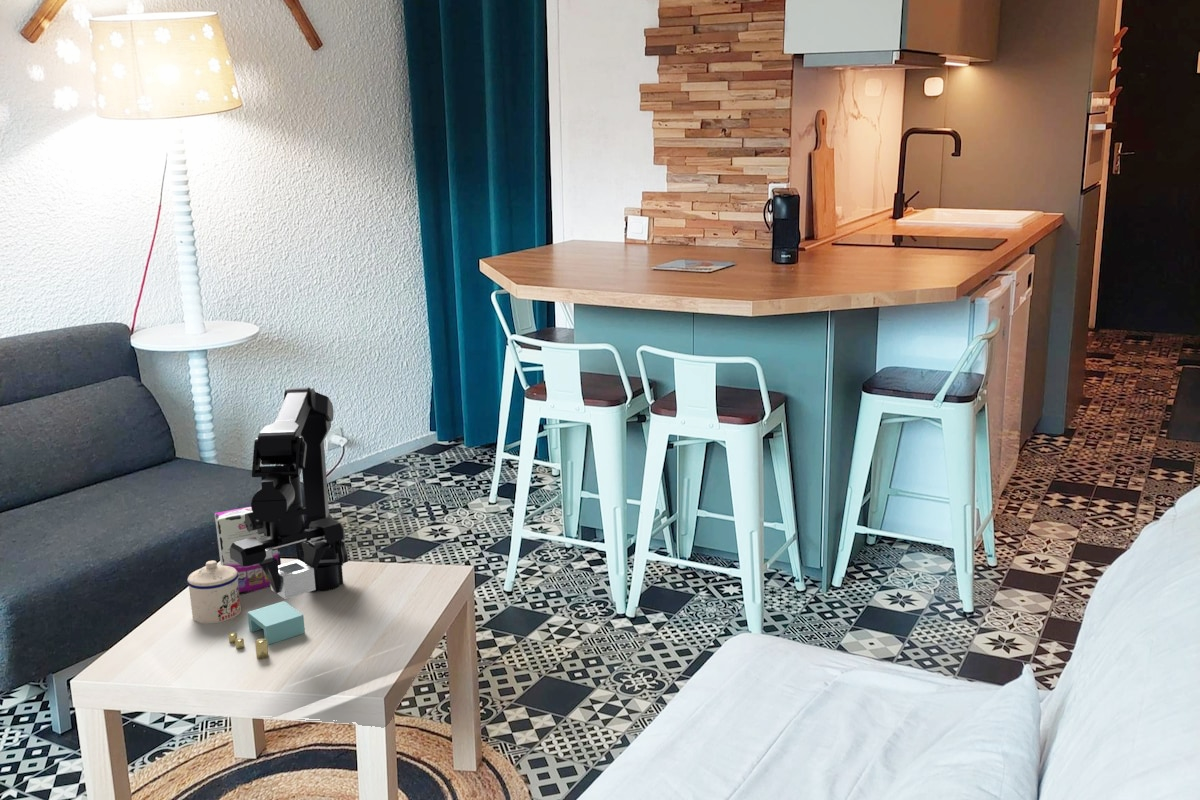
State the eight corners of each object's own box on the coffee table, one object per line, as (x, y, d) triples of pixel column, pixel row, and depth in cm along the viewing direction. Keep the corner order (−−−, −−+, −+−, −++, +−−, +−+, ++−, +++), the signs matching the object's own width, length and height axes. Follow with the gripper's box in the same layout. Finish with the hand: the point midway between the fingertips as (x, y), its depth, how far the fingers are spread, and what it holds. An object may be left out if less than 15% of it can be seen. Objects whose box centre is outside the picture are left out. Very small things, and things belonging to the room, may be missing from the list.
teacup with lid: (226, 632, 201) (219, 573, 198) (182, 628, 203) (174, 570, 200) (259, 604, 212) (253, 548, 210) (217, 601, 214) (211, 545, 212)
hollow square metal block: (300, 580, 194) (298, 559, 193) (315, 590, 190) (313, 568, 189) (270, 589, 190) (268, 568, 189) (285, 599, 186) (283, 577, 185)
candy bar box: (278, 577, 225) (271, 501, 221) (283, 586, 221) (276, 509, 217) (222, 588, 220) (213, 511, 216) (226, 597, 216) (217, 519, 212)
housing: (285, 618, 203) (284, 600, 202) (304, 632, 197) (303, 614, 196) (249, 629, 199) (247, 612, 198) (267, 644, 193) (266, 626, 192)
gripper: (313, 479, 198) (320, 560, 202) (212, 503, 186) (221, 589, 190) (343, 493, 190) (349, 577, 194) (239, 519, 178) (248, 608, 182)
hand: (292, 587), depth 190 cm, fingers closed on hollow square metal block, 6 cm apart
